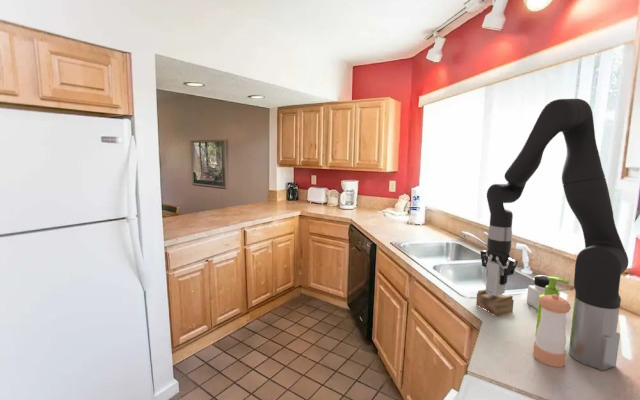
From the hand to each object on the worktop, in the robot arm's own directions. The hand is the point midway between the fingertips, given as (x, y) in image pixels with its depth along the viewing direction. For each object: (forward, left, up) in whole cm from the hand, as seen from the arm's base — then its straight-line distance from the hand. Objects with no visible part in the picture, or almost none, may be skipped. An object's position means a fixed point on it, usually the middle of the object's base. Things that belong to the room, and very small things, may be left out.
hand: (495, 281), depth 113 cm
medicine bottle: (-5, -19, -11) cm, 23 cm away
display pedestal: (0, 0, -11) cm, 11 cm away
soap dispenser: (-20, 0, -11) cm, 23 cm away
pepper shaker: (-27, +11, -11) cm, 31 cm away
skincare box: (0, 0, -5) cm, 5 cm away
